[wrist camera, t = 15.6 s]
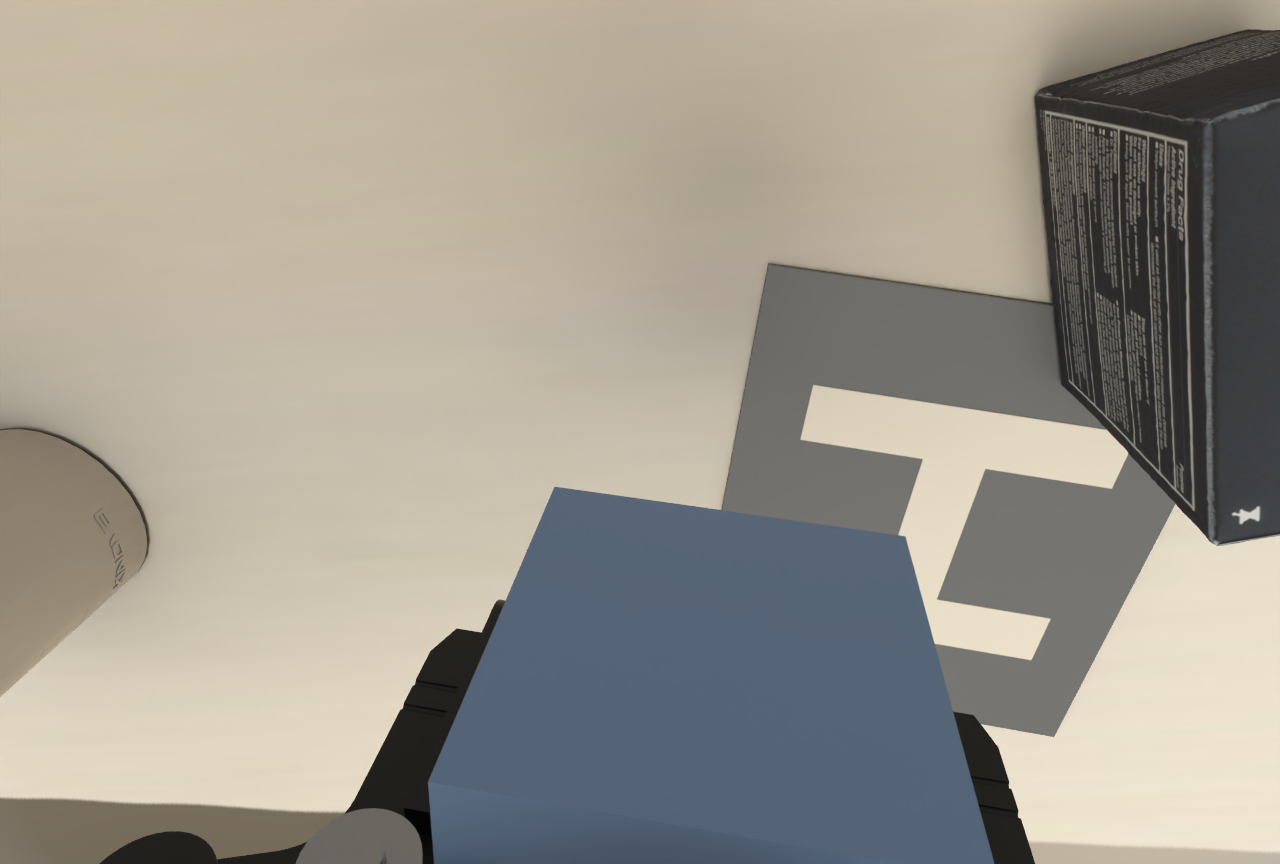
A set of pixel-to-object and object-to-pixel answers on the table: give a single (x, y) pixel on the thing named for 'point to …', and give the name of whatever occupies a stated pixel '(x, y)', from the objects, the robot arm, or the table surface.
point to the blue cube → (706, 701)
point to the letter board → (951, 473)
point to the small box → (1175, 268)
